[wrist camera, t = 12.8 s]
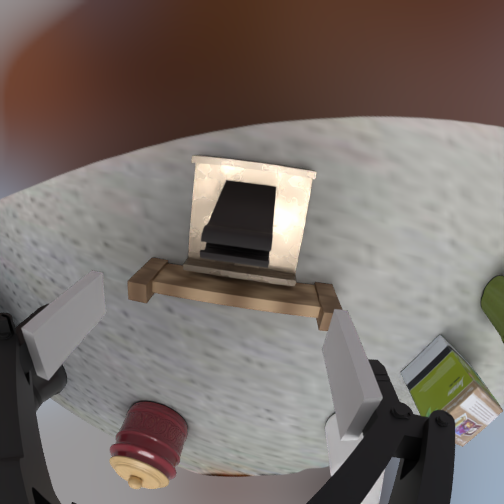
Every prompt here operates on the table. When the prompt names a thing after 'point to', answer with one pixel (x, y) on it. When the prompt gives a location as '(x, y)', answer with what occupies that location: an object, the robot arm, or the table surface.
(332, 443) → the wine bottle
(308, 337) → the table surface
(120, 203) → the table surface
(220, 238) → the phone stand
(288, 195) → the keeper plate
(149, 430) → the canister
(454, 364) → the tea box
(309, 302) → the door pull handle
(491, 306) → the plant pot
